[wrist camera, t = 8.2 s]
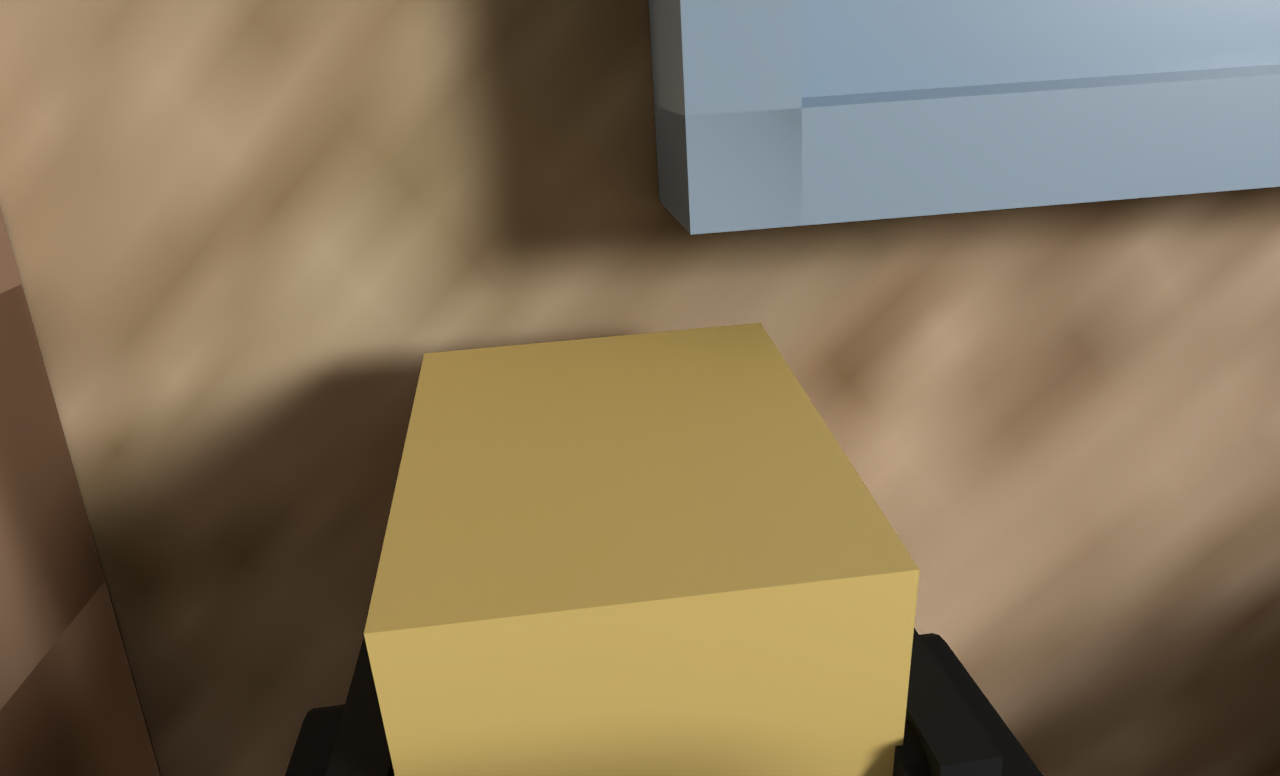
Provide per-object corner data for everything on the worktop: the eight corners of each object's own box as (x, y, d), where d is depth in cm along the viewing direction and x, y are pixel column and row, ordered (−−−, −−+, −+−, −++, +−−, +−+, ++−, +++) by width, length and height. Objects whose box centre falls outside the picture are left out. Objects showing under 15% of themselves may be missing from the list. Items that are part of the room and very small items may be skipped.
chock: (760, 323, 11) (920, 569, 7) (758, 702, 14) (873, 1060, 10) (424, 352, 11) (363, 633, 7) (484, 735, 14) (471, 1124, 9)
